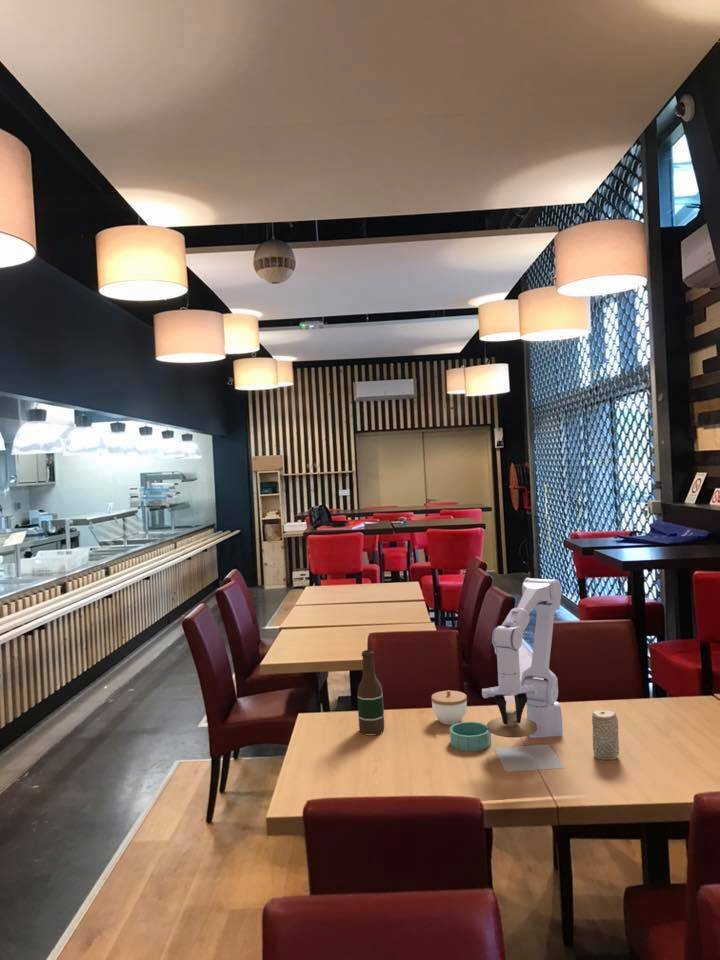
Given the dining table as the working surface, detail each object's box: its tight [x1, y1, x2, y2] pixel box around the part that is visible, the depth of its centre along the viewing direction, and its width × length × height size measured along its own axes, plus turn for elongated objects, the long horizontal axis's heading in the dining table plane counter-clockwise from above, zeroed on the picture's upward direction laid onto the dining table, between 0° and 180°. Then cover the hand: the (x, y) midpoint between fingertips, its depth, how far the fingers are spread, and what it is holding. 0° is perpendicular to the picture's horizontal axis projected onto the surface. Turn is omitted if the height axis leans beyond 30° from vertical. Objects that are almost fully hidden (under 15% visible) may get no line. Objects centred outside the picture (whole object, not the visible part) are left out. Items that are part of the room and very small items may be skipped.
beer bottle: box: [356, 649, 385, 735], centre depth 212 cm, size 8×8×24 cm
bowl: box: [448, 721, 492, 752], centre depth 198 cm, size 11×11×4 cm
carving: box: [591, 709, 620, 761], centre depth 184 cm, size 6×8×12 cm
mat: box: [493, 744, 566, 773], centre depth 186 cm, size 15×15×1 cm
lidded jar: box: [430, 689, 468, 726], centre depth 217 cm, size 11×11×9 cm
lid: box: [486, 709, 537, 738], centre depth 189 cm, size 13×13×4 cm
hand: (511, 722), depth 189 cm, fingers closed on lid, 3 cm apart
